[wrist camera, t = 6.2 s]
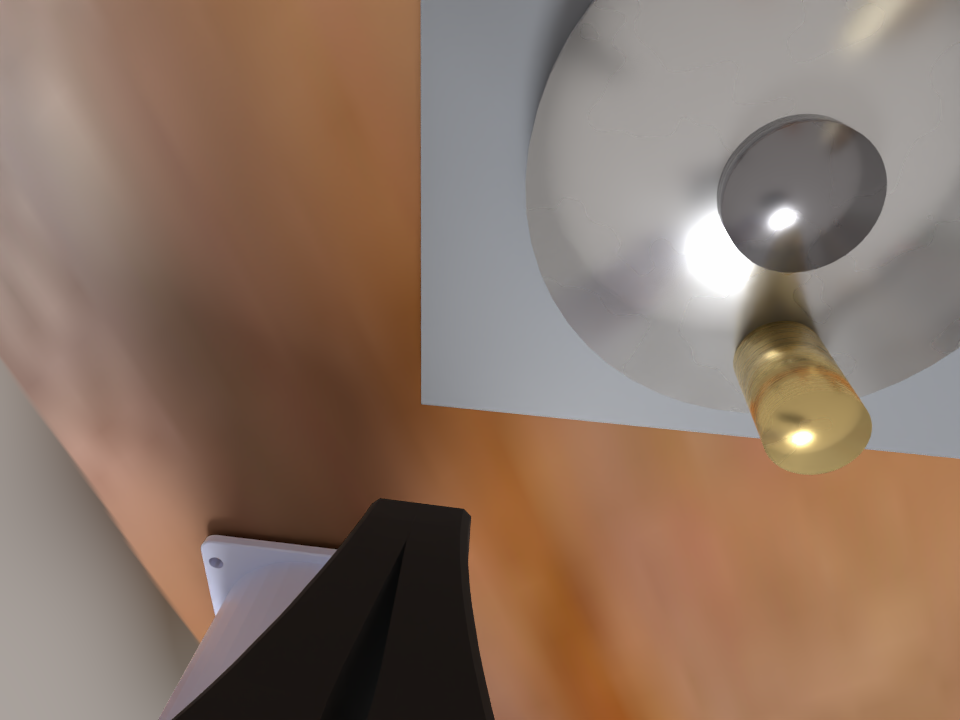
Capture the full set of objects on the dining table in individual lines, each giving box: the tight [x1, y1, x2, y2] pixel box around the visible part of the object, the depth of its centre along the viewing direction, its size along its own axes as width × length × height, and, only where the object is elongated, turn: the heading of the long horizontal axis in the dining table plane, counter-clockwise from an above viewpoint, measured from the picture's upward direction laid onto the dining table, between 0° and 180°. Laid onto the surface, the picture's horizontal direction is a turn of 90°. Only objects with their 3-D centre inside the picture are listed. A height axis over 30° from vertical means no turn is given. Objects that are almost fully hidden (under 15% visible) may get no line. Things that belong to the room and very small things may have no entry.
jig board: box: [421, 0, 960, 459], centre depth 14 cm, size 14×16×5 cm
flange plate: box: [525, 0, 960, 475], centre depth 13 cm, size 11×13×4 cm
